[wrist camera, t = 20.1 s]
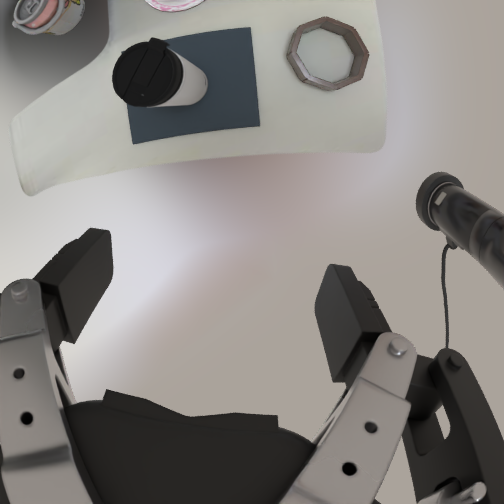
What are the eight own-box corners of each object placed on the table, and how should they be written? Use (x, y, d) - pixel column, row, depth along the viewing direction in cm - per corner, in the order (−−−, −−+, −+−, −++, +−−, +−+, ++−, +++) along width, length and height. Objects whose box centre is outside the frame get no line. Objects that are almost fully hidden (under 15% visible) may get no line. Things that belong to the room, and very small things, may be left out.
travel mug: (217, 74, 36) (192, 51, 19) (195, 112, 39) (153, 119, 21) (181, 58, 35) (131, 28, 17) (159, 95, 37) (96, 94, 20)
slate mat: (250, 28, 33) (250, 27, 33) (259, 125, 41) (260, 126, 40) (122, 52, 34) (121, 51, 33) (134, 143, 41) (132, 144, 41)
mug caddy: (369, 74, 36) (379, 72, 33) (311, 99, 39) (317, 98, 35) (336, 16, 32) (343, 10, 28) (275, 40, 34) (278, 34, 31)
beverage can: (99, 10, 29) (61, -7, 19) (66, 47, 32) (24, 41, 21) (74, -11, 26) (37, -27, 15) (44, 24, 28) (3, 17, 18)
